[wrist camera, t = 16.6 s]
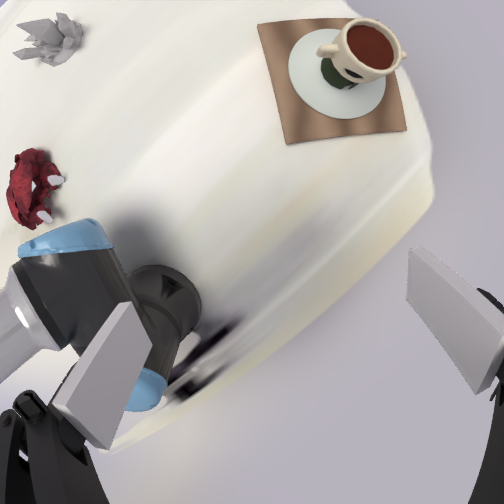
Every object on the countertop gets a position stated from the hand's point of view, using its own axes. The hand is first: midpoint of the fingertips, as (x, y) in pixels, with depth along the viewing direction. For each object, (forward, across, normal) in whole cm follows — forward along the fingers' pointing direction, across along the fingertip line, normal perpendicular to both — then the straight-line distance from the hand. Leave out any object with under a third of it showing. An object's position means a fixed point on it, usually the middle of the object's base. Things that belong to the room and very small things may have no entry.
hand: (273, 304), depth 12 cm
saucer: (+30, +15, +16) cm, 37 cm away
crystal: (+32, -30, +39) cm, 59 cm away
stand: (+32, +15, +16) cm, 39 cm away
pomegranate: (+32, -40, +12) cm, 53 cm away
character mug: (+29, +15, +16) cm, 37 cm away
